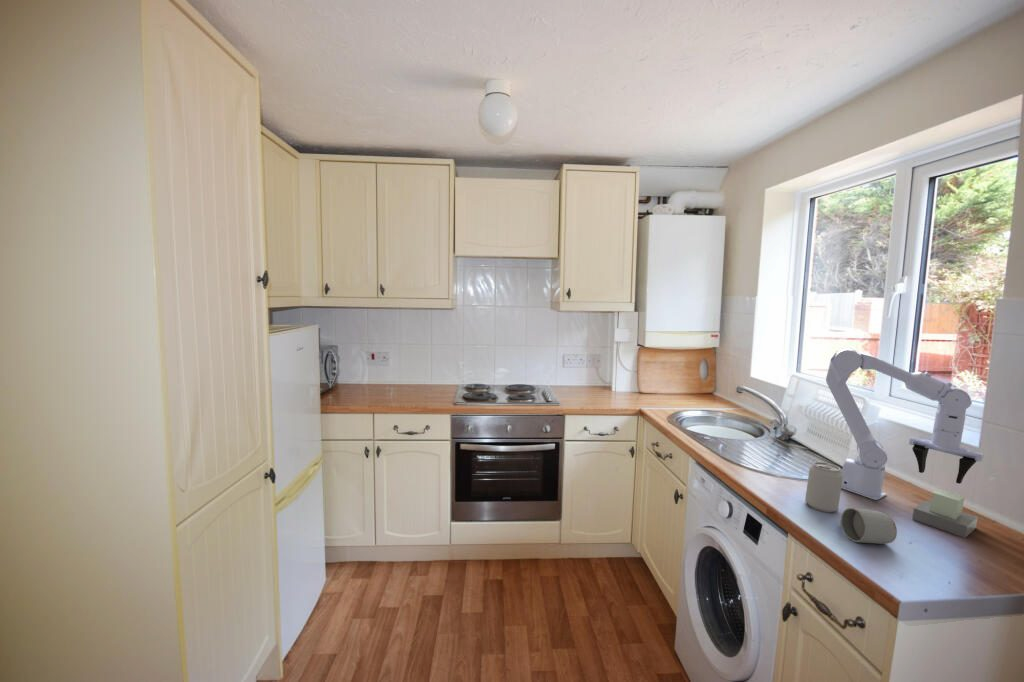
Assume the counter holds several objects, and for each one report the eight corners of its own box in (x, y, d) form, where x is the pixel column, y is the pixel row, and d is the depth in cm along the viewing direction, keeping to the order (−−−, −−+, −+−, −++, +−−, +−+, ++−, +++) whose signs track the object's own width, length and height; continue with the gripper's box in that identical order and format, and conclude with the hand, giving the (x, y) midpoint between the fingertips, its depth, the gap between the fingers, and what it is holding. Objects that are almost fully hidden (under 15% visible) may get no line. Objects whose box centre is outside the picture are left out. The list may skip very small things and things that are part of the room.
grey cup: (897, 550, 100) (902, 518, 99) (862, 549, 100) (867, 516, 99) (860, 526, 110) (864, 497, 110) (828, 525, 110) (832, 496, 109)
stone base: (912, 518, 116) (914, 508, 115) (924, 510, 121) (926, 500, 121) (964, 537, 107) (967, 526, 107) (975, 528, 113) (977, 517, 112)
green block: (929, 510, 114) (932, 492, 114) (935, 506, 117) (938, 488, 117) (955, 519, 110) (958, 500, 110) (961, 515, 113) (964, 496, 112)
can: (798, 502, 122) (804, 461, 120) (815, 499, 125) (821, 458, 123) (826, 515, 115) (833, 472, 113) (844, 511, 118) (850, 469, 116)
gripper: (908, 424, 124) (901, 469, 125) (981, 440, 112) (972, 490, 113) (917, 421, 127) (909, 465, 129) (988, 436, 115) (979, 485, 117)
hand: (939, 477), depth 121 cm, fingers open, 7 cm apart
